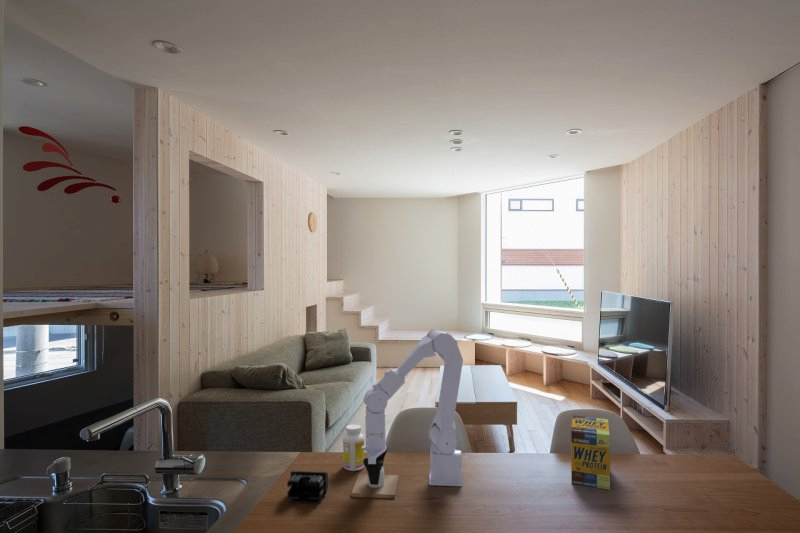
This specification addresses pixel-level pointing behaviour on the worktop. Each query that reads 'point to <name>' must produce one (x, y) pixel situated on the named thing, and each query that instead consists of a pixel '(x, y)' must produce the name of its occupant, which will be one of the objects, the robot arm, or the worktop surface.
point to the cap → (381, 479)
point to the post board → (381, 492)
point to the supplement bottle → (353, 448)
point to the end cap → (307, 487)
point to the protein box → (590, 452)
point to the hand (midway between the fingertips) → (376, 479)
